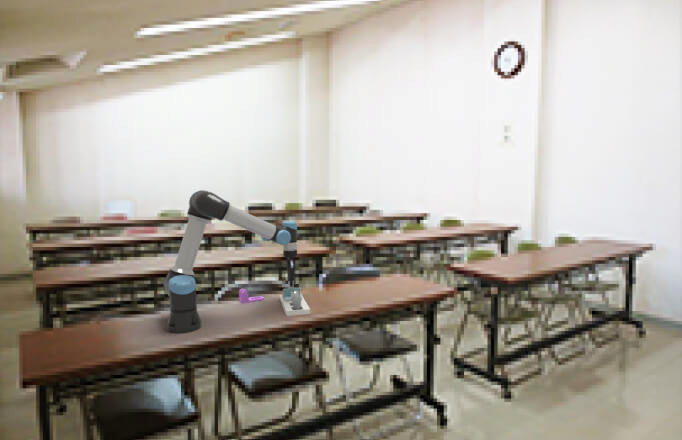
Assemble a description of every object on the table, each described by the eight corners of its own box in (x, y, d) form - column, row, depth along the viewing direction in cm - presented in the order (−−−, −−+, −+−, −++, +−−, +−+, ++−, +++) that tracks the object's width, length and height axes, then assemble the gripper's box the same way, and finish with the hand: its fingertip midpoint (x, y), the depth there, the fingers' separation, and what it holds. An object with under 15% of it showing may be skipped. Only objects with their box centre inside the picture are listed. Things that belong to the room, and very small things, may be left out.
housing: (286, 316, 233) (286, 298, 232) (279, 299, 262) (278, 283, 261) (310, 314, 236) (309, 296, 235) (300, 297, 265) (300, 281, 264)
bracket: (242, 304, 254) (241, 291, 253) (239, 301, 259) (239, 289, 258) (265, 300, 260) (264, 288, 259) (262, 298, 265) (261, 286, 264)
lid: (284, 301, 249) (284, 292, 248) (283, 297, 256) (282, 288, 255) (302, 299, 251) (301, 290, 251) (299, 296, 258) (299, 287, 257)
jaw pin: (290, 307, 247) (290, 290, 246) (298, 307, 248) (298, 290, 247) (291, 309, 243) (291, 292, 242) (299, 309, 244) (299, 292, 243)
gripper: (299, 251, 249) (299, 294, 252) (295, 247, 262) (296, 288, 265) (284, 252, 247) (285, 295, 250) (281, 247, 260) (282, 289, 263)
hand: (291, 291), depth 257 cm, fingers closed
